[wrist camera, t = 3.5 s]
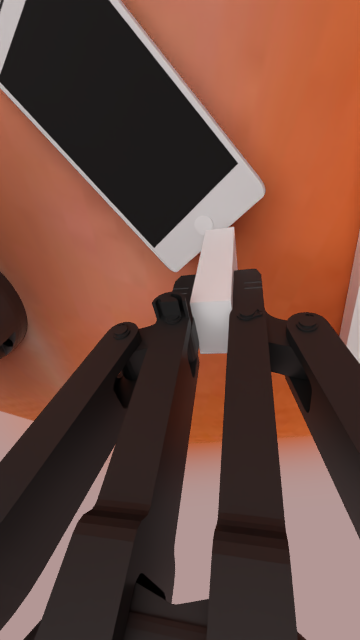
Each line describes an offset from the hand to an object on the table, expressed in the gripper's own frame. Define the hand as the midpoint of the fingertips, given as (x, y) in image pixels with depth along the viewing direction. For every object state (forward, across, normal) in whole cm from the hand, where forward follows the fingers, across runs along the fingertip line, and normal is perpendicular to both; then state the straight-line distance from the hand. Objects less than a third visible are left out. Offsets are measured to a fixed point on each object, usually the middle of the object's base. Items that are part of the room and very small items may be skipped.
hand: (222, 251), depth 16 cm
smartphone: (+3, 0, 0) cm, 3 cm away
